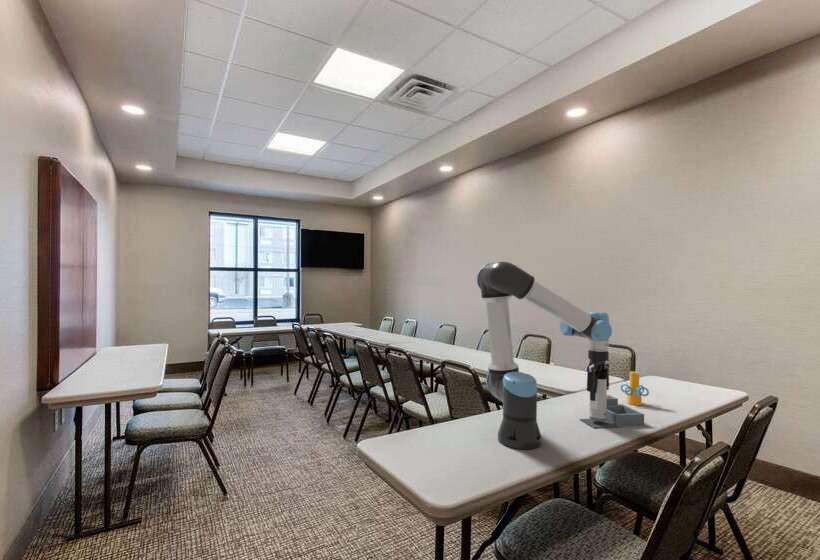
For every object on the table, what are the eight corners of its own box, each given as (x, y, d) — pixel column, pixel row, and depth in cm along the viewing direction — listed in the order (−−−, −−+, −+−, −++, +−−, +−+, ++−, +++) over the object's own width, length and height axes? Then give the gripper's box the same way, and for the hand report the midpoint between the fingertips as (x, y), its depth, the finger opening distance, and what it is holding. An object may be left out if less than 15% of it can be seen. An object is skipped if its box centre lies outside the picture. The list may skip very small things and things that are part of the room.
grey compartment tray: (615, 426, 159) (615, 408, 159) (588, 411, 178) (588, 395, 178) (644, 425, 161) (644, 407, 161) (613, 410, 180) (613, 394, 180)
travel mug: (610, 421, 159) (610, 371, 159) (593, 421, 159) (593, 371, 159) (603, 416, 165) (603, 368, 165) (587, 416, 165) (587, 367, 165)
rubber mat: (593, 428, 156) (593, 427, 156) (579, 419, 166) (579, 418, 166) (617, 427, 158) (617, 426, 158) (601, 419, 167) (601, 418, 167)
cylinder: (651, 408, 183) (651, 375, 183) (626, 406, 185) (627, 374, 186) (641, 400, 195) (641, 370, 195) (618, 399, 197) (618, 369, 198)
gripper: (595, 353, 153) (595, 413, 153) (618, 349, 165) (618, 405, 165) (577, 350, 159) (576, 408, 159) (600, 346, 171) (600, 400, 171)
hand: (598, 406), depth 162 cm, fingers closed on travel mug, 6 cm apart
